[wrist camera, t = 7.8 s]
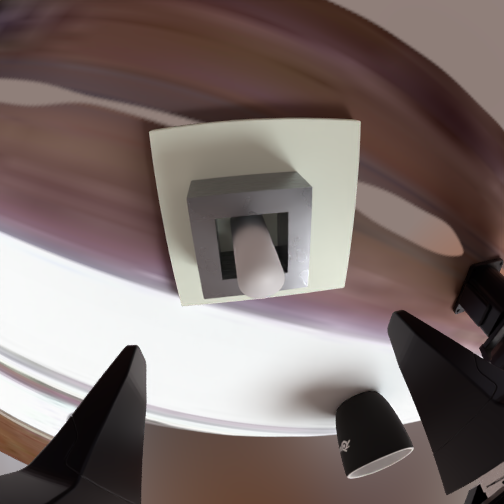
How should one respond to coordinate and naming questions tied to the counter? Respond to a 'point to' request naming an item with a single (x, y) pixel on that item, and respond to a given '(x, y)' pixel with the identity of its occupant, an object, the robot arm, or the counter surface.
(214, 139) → the peg board
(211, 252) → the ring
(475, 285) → the robot arm
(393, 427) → the mug
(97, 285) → the counter surface
